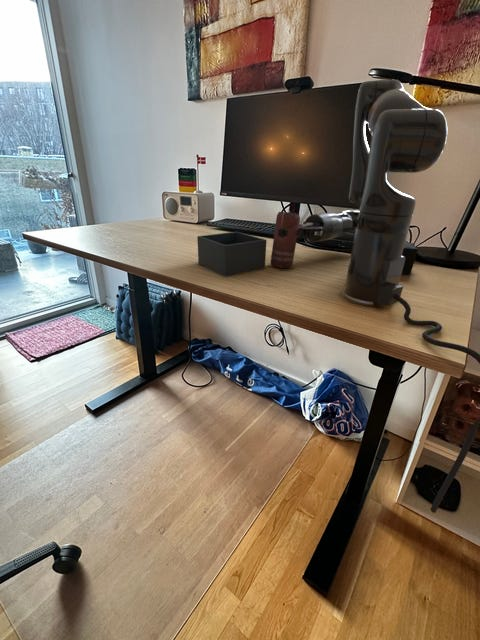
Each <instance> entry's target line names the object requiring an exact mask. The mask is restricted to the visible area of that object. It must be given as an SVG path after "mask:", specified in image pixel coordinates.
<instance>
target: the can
mask: <svg viewBox="0 0 480 640" xmlns="http://www.w3.org/2000/svg"><path fill="white" fill-rule="evenodd" d="M300 221H301V216H300V213H298V212H290V211H289V212H288V211H278V213H277V214H276V219H275V225H274V226H275V227H274V234H273V240H272V247H271V255H270V265H271V266H272V267H275V268H280V269H290V268H292V266H294V265H293V264H294V258H295V254H296V253H295V252H296V247H297V240H298V237H297V230H298V227H299V222H300ZM279 228H281V229H285V230H287V231H288V233H287V234H288V236H284V237H280V236H278V230H279Z"/></svg>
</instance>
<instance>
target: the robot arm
mask: <svg viewBox="0 0 480 640" xmlns="http://www.w3.org/2000/svg"><path fill="white" fill-rule="evenodd" d="M388 79H389V78H387V79H376V80H366V81H363V82H362V83H361V84H360V86H359V88H358V91H357V95H356V100H355V104H354V105H355V107H354V116H353V117H354V118H353V136H352V139H353V140H352V168H351V169H352V170H351V176H350V177H351V179H350V183H349V184H350V185H349V186H350V187H349V190H348V191H349V192H348V200H349V202H350V203H352V204H355V205H357V207H358V210H354V209H348V210H343V211H341V212H324V213H314V214H310V215H309V216H308V217H307V218H306V219H305V220H300V222H299V227H298V230H297V238H298V239H307V241H309V242H312V243H317V242H324V241H330V240H333V239H336V238H341V237H345V236H347V235H349V234H352V235H354V236H353V241H352V247H351V250H350V251H351V252H350V257H349V261H348V267H347V272H346V278H345V284H344V288H343V290H342V297H343V298H344V299H345V300H347V301H348V302H350V303H353V304H356V305H359V306H365V307H370V308H371V307H372V308H375V309H380V308H383V307H385V306H387V307H389V306H391V305H394V304H396V303H400V304H401V305H402V306H403V308H404V310H405V311H404V313H403V320H404V321H405V322H406V323H407V324H410V325H412V326H420V327H421V326H422V327H423V326H431V327H432V328H429V329H426V330H424V331H423V332H422V333H421V337H422V339H423V340H424V341H425V342H426V343H428V344H430V345H433V346H436V347H440V348H446V349H450V350H454V351H457V352H461V353H464V354H466V355H468V356H471V358H473V359H475V361H477V362H478V364H479V365H480V353H478V352H477V351H475V350H474V349H472V348H470V347H467V346H464V345H461V344H458V343H452V342H447V341H443V340H439V339H435V338H432V337H431V336H430V335H434V334H437V333H439V332H441V331H442V330H443V326H442V324H441V323H439V322H438V321H434V320H415V319H413V318H410V315H411V311H412V309H411V305H410V304H409V303H408V301H407V300H405V299H404V298H403V297H401V296H402V292H403V290H404V285H400V281H401V277H402V274H401V273H402V269H403V266H404V262H405V257H404V256H402V253H403V249H404V245H405V241H407V237H408V234H409V230H410V227H411V223H412V219H413V215H414V212H415V210H416V205H417V204H416V203H417V201H416V199H415V198H414V197H413V196H411V195H408V194H406V193H403V192H401V191H399V190H398V189H396V188H394V187H393V186H392V185H391V184H390V183H389V182H388V180H387V179H388V178H387V173H394V174H395V173H400V174H401V173H402V174H406V173H407V174H415V173H421V172H424V171H426V170H429V169H430V168H431V167H433V165H435V164H436V162H437V161H438V160H439V159H440V157H441V156H442V153H443V151H444V149H445V146H446V143H447V138H448V123H447V119H446V117H445V115H444V113H443V112H442V111H441V110H439V109H434V108H429V107H426V106H423V104H421V103H420V102H419V101H417V100H416V99H415V98H414V97H413V96H412V95H411V94H409V92H407V91H406V90H405V89H404V85H403V84H402V82H401V81H400V80H399V79H396V80H395V78H390V79H392V80H390V79H389V80H388ZM366 124H367V127H368V129H369V132H370V134H371V137H370V143H369V144H370V145H369V144H368V141H367V140H368V139H367V135H366ZM287 233H288V231H287V230H285V229H281V228H279V230H278V236H280V237H284V236H288V234H287ZM479 424H480V416H479V417H478V418H477V420H476V421H475V422H474V423H473V424H472V425H471V427H470V428H469V429H468V431H467V434H466V437H465V440H464V442H463V444H462V446H461V449H460V451H459V452H458V455H457V457H456V459H455V461H454V463H453V465H452V466H451V468H450V470H449V472H448V474H447V475H446V478H445V479H444V481H443V483H442V484H441V486H440V488H439V490H438V492H437V494H436V496H435V498H434V499H433V502H432V504H431V506H430V512H432V513H434V514H435V513H437V511H438V508H439V507H440V504H441V502H442V500H443V498H444V496H445V495H446V494H447V491H448V490H449V487H450V486H451V484H452V482H453V481H454V479H455V478H456V475H457V473H458V472H459V470H460V468H461V466H462V464H463V463H464V462H465V459H466V457H467V455H468V453H469V451H470V448H471V446H472V444H473V441H474V439H475V437H476V435H477V430H478V429H479Z"/></svg>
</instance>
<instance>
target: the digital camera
mask: <svg viewBox="0 0 480 640" xmlns="http://www.w3.org/2000/svg"><path fill="white" fill-rule="evenodd" d="M418 250H419V248H418V247H416V245H415V243H414V242H409V241H407V240H406V241H405V245H404V249H403V253H402V256H404V257H405V262H404V266H403V269H402V273H401V275H409V276H410V275H411V274H412V271H413V267H414V264H415V261H416V258H417V254H418V252H419V251H418Z"/></svg>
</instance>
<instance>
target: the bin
mask: <svg viewBox="0 0 480 640" xmlns="http://www.w3.org/2000/svg"><path fill="white" fill-rule="evenodd" d="M196 237H197V258H198V259H197V260H198V261H197V262H198V263H197V264H198V265H201V266H203V267H204V268H207V269H209V270H211V271H213V272H215V273H217V274H220V275H221V276H223V277H228V276H229V277H230V276H232V275H238V274H244V273H247V272H252V271H257V270H262V269H265V268H266V257H267V256H266V255H267V242H268V241H267V239H264V238H261V237H257V236H255V235H252V234H251V235H250V234H248V233H247V234H246V233H243V232H240V231H231V232H222V233H213V234H212V233H211V234H205V235H197V236H196Z"/></svg>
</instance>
